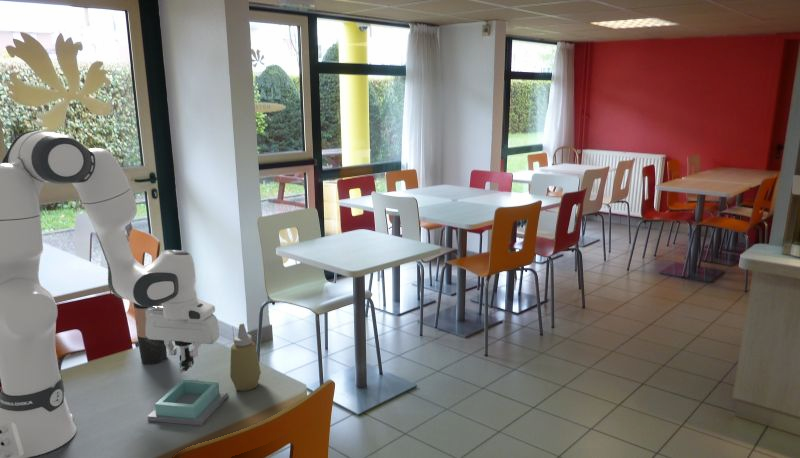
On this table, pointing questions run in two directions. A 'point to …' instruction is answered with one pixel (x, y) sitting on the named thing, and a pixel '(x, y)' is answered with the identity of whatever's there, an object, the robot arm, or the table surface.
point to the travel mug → (148, 348)
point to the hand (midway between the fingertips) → (183, 355)
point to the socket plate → (188, 403)
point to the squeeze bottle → (244, 361)
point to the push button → (184, 356)
